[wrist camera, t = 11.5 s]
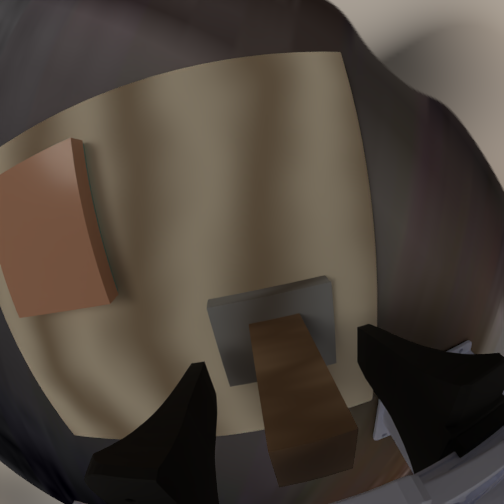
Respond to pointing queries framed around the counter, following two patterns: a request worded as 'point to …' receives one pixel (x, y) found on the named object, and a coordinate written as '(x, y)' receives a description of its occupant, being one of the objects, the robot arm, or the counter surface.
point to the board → (205, 230)
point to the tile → (53, 234)
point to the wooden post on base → (289, 374)
